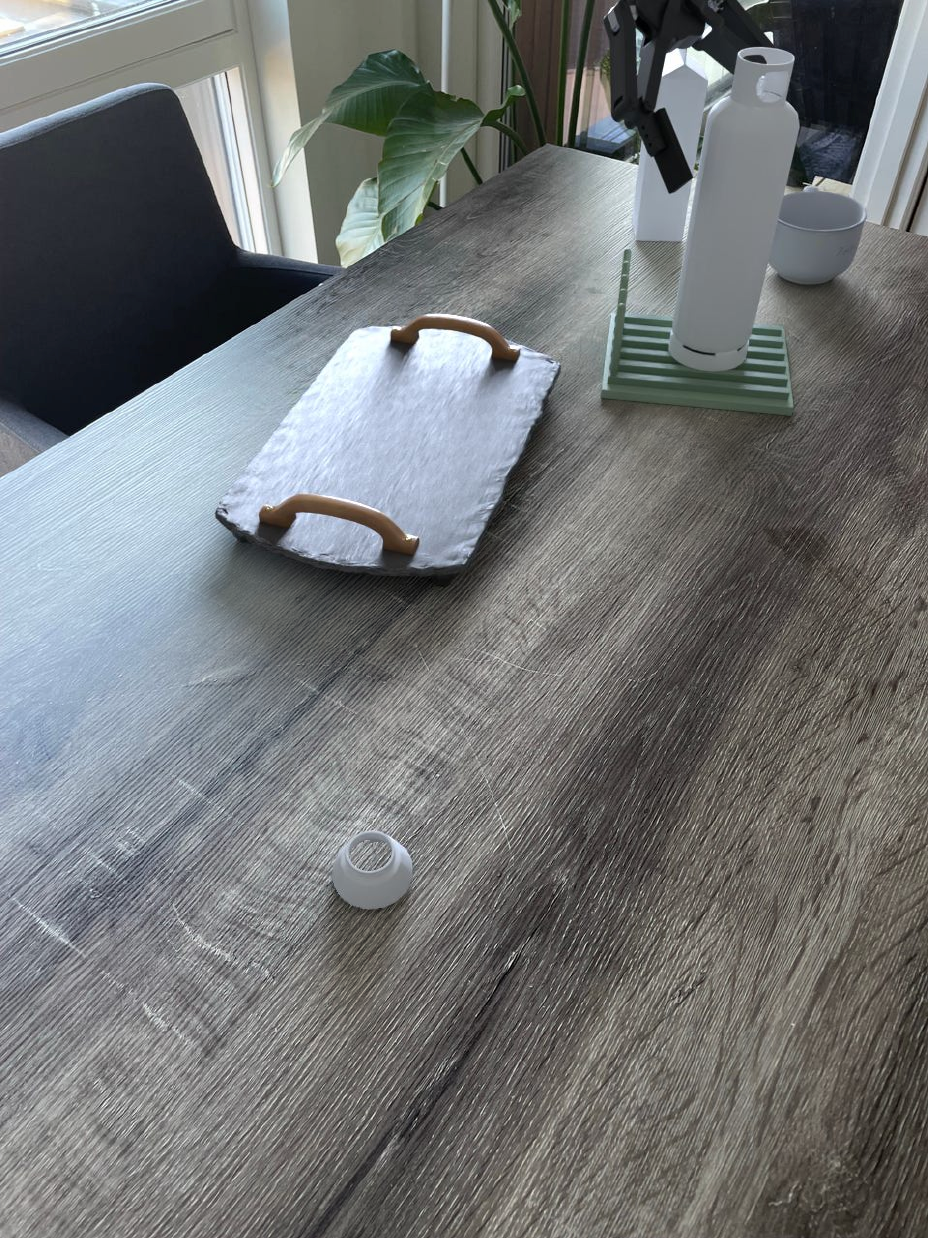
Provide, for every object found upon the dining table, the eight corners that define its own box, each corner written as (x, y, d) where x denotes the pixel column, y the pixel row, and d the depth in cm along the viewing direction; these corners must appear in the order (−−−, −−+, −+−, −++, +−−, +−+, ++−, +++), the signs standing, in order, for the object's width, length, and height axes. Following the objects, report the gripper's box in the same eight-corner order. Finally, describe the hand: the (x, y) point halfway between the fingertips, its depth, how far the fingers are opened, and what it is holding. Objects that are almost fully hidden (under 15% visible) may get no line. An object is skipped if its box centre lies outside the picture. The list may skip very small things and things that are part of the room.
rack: (782, 335, 110) (803, 253, 104) (791, 416, 99) (815, 330, 93) (610, 320, 113) (619, 239, 106) (600, 398, 101) (610, 313, 95)
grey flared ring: (411, 840, 65) (334, 844, 65) (409, 814, 63) (330, 819, 63) (414, 910, 62) (332, 915, 61) (412, 885, 59) (328, 890, 59)
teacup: (845, 300, 116) (865, 233, 110) (750, 285, 118) (765, 219, 113) (852, 249, 125) (871, 185, 120) (765, 236, 128) (779, 173, 122)
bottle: (688, 376, 101) (745, 74, 81) (655, 336, 107) (701, 45, 87) (760, 364, 103) (833, 66, 83) (724, 326, 108) (785, 37, 88)
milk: (676, 222, 131) (707, 33, 115) (682, 242, 127) (715, 49, 111) (630, 220, 131) (654, 32, 115) (634, 241, 127) (660, 48, 111)
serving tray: (366, 336, 110) (362, 283, 105) (571, 371, 105) (576, 316, 101) (196, 560, 84) (182, 502, 80) (458, 621, 79) (458, 562, 75)
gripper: (715, -46, 99) (795, 158, 101) (515, -7, 88) (610, 220, 91) (767, -103, 92) (853, 118, 94) (558, -67, 82) (659, 180, 84)
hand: (734, 169), depth 92 cm, fingers open, 13 cm apart
